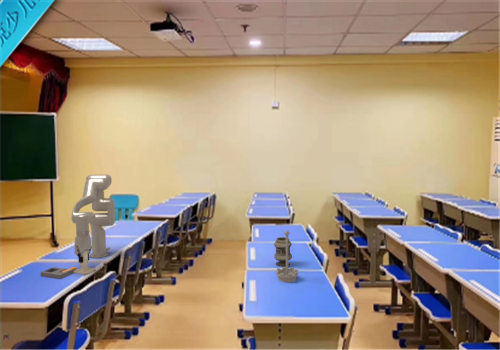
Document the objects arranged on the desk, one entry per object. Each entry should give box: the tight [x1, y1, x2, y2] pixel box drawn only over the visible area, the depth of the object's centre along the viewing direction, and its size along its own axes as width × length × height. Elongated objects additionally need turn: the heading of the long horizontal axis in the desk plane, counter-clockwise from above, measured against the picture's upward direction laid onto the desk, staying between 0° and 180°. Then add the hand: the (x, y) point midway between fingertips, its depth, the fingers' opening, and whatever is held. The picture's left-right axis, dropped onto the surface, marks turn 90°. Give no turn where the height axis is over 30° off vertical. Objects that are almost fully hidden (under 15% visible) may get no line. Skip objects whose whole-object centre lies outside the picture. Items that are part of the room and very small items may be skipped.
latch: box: [62, 266, 78, 273], centre depth 239 cm, size 10×3×2 cm, turn 160°
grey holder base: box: [40, 266, 74, 280], centre depth 235 cm, size 10×16×3 cm, turn 70°
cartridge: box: [79, 249, 89, 268], centre depth 240 cm, size 5×5×12 cm
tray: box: [73, 266, 96, 276], centre depth 241 cm, size 9×9×2 cm
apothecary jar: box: [273, 236, 293, 268], centre depth 252 cm, size 12×12×18 cm
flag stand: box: [275, 230, 299, 283], centre depth 225 cm, size 13×13×30 cm
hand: (84, 261), depth 240 cm, fingers closed on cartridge, 4 cm apart
